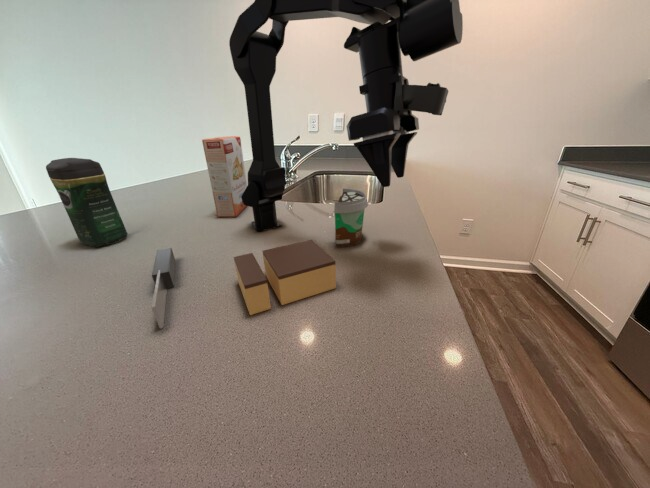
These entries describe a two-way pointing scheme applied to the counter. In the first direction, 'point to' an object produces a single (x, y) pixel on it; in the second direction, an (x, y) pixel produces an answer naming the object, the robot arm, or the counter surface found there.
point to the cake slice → (252, 283)
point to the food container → (349, 217)
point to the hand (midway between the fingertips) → (394, 181)
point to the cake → (299, 270)
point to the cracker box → (226, 174)
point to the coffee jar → (87, 200)
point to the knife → (162, 282)
